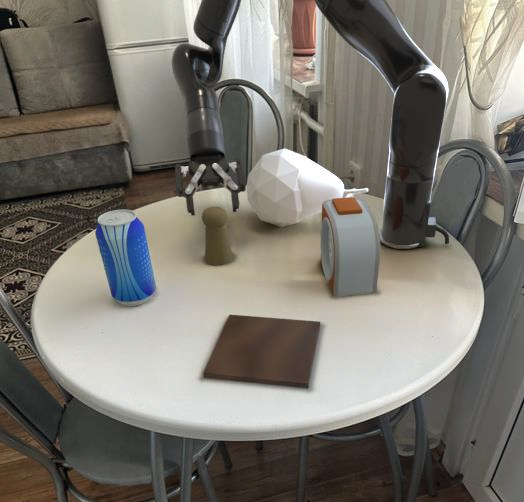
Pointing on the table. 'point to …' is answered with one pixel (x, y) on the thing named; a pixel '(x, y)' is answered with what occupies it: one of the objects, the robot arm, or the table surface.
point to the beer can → (125, 257)
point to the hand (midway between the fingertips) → (214, 212)
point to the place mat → (265, 351)
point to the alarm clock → (349, 246)
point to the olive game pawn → (216, 236)
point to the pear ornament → (291, 188)
